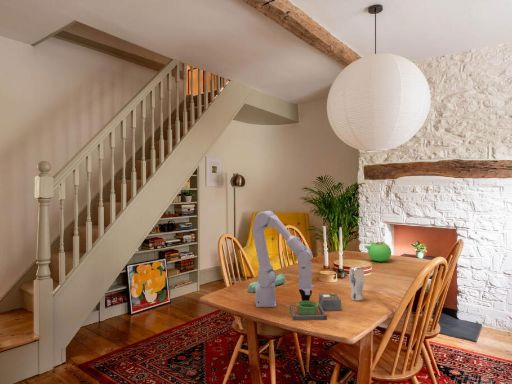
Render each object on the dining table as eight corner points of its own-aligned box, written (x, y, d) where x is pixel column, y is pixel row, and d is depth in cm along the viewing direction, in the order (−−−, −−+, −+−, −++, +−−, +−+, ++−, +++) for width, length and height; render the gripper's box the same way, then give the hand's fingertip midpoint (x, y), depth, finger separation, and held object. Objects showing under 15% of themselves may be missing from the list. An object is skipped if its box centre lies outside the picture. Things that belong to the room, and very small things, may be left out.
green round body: (388, 264, 238) (388, 243, 238) (364, 262, 246) (363, 242, 246) (393, 259, 253) (392, 240, 253) (369, 257, 262) (369, 238, 262)
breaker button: (323, 302, 154) (323, 296, 154) (322, 300, 157) (322, 294, 157) (330, 302, 154) (330, 296, 154) (328, 300, 157) (328, 294, 157)
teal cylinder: (251, 282, 177) (283, 272, 194) (244, 284, 181) (276, 274, 198) (254, 293, 176) (286, 282, 193) (247, 295, 180) (280, 284, 197)
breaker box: (323, 310, 151) (322, 299, 151) (319, 302, 161) (318, 292, 161) (341, 310, 151) (340, 298, 151) (335, 302, 161) (335, 291, 161)
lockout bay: (293, 320, 140) (293, 316, 140) (289, 308, 154) (289, 304, 154) (326, 319, 140) (326, 315, 140) (320, 307, 154) (320, 304, 154)
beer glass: (361, 296, 169) (361, 266, 169) (366, 301, 162) (366, 269, 162) (347, 296, 169) (347, 266, 169) (352, 301, 162) (351, 270, 162)
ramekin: (320, 311, 149) (320, 301, 149) (315, 319, 141) (315, 308, 141) (300, 309, 153) (300, 299, 153) (294, 316, 145) (294, 306, 144)
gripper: (316, 280, 146) (317, 311, 146) (311, 271, 160) (311, 300, 160) (300, 280, 146) (300, 311, 146) (296, 272, 160) (296, 300, 160)
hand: (305, 306), depth 153 cm, fingers closed
